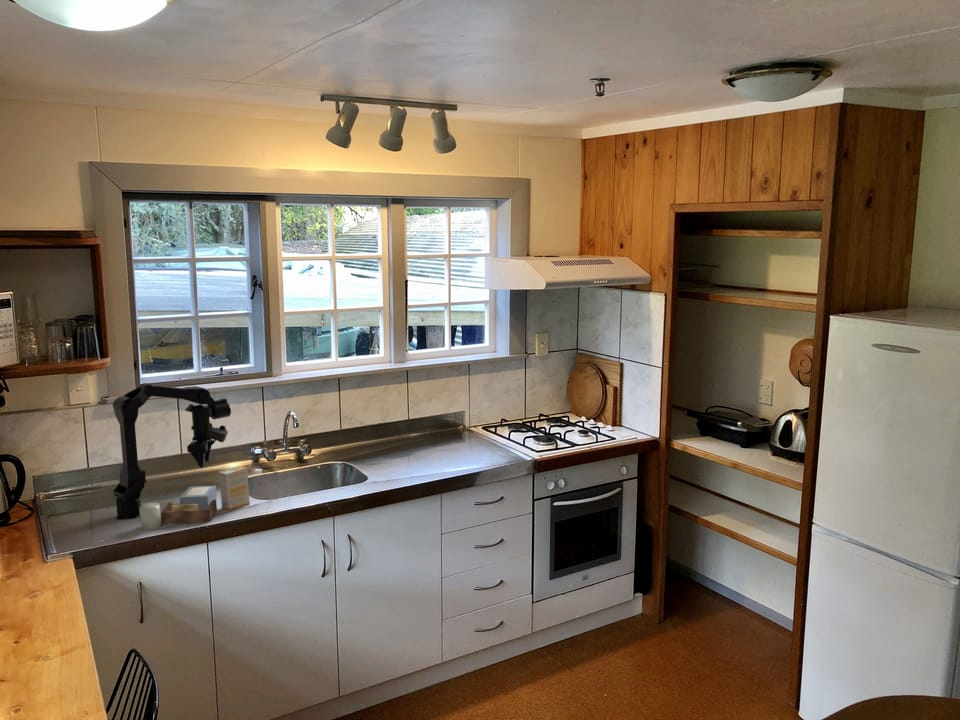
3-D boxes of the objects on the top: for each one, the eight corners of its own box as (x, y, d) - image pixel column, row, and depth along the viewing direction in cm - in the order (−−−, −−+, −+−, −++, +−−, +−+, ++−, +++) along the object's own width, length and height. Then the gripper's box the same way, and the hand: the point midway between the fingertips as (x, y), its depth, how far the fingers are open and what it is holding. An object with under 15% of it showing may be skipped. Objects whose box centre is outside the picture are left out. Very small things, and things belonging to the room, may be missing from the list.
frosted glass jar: (138, 531, 239) (136, 509, 238) (144, 523, 245) (142, 503, 244) (158, 529, 240) (156, 508, 239) (164, 522, 246) (162, 502, 245)
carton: (181, 511, 257) (179, 497, 256) (190, 500, 267) (189, 486, 267) (208, 510, 257) (207, 495, 257) (216, 499, 268) (215, 485, 267)
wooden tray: (161, 524, 244) (159, 506, 243) (169, 513, 254) (168, 496, 253) (210, 521, 246) (209, 503, 245) (217, 511, 255) (215, 494, 254)
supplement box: (242, 501, 265) (239, 465, 262) (250, 504, 261) (247, 467, 259) (220, 508, 258) (218, 471, 256) (228, 511, 255) (226, 473, 253)
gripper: (218, 427, 260) (221, 471, 263) (230, 414, 279) (233, 456, 281) (184, 428, 259) (188, 472, 262) (198, 416, 278) (202, 457, 280)
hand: (204, 464), depth 271 cm, fingers open, 7 cm apart
